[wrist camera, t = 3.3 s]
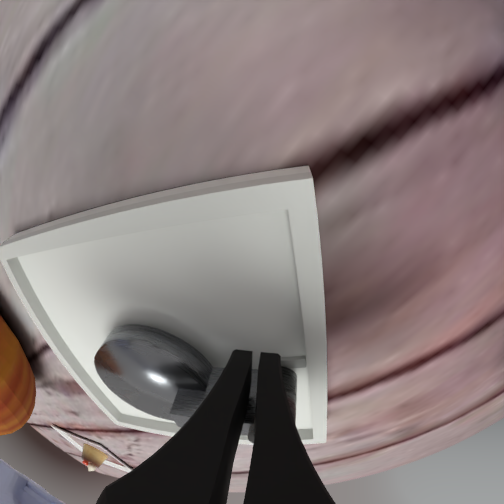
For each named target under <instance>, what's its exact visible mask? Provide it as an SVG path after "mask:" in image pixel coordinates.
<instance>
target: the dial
mask: <svg viewBox="0 0 504 504" xmlns="http://www.w3.org/2000/svg"><path fill="white" fill-rule="evenodd" d="M94 365H95V368H96V371H97V373H98V375H99V377H100V378H101V380H102V381H103V382H104V384H105V385H106V386H107V387H108V388H109V389H110V390H111V391H112V392H113V393H114V394H115V395H117V396H118V397H119V398H121V399H122V400H123V401H125V402H126V403H128V404H129V405H131V406H133V407H135V408H136V409H138V410H140V411H143V412H145V413H147V414H150V415H152V416H155V417H159V418H162V419H166V420H171V421H174V422H175V423H176V425H177V426H178V427H182V426H183V425H184V424H185V423H186V422H187V421H188V420H189V418H190V417H191V416H192V415H193V414H194V412H195V411H196V410H197V409H198V407H199V406H200V405H201V403H202V402H203V401H204V399H205V398H206V397H207V395H208V394H209V392H210V391H211V389H212V388H213V386H214V385H215V383H216V382H217V380H218V379H219V377H220V375H221V373H222V372H223V370H224V368H220V367H212V365H211V364H210V362H209V361H208V360H207V359H206V358H205V357H204V356H203V355H202V354H201V353H200V352H199V351H198V350H197V349H195V348H194V347H193V346H191V345H190V344H189V343H187V342H185V341H184V340H182V339H180V338H178V337H177V336H175V335H173V334H170V333H168V332H166V331H163V330H160V329H157V328H154V327H150V326H146V325H140V324H126V325H121V326H118V327H116V328H114V329H113V330H112V331H111V332H110V333H109V335H108V336H107V338H106V339H105V341H104V342H103V344H102V345H101V347H100V348H99V350H98V351H97V353H96V355H95V357H94ZM281 370H282V377H283V382H284V387H285V391H286V395H287V399H288V402H289V406H290V410H291V413H292V416H293V419H294V422H295V424H296V400H297V375H296V373H295V372H294V371H293V370H292V369H290V368H287V367H284V366H281ZM257 376H258V369H252V381H251V390H250V397H249V403H248V409H247V413H246V416H245V420H244V424H243V428H242V432H241V435H247V436H248V440H249V441H250V442H252V443H253V444H254V433H255V408H256V392H257Z"/></svg>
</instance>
